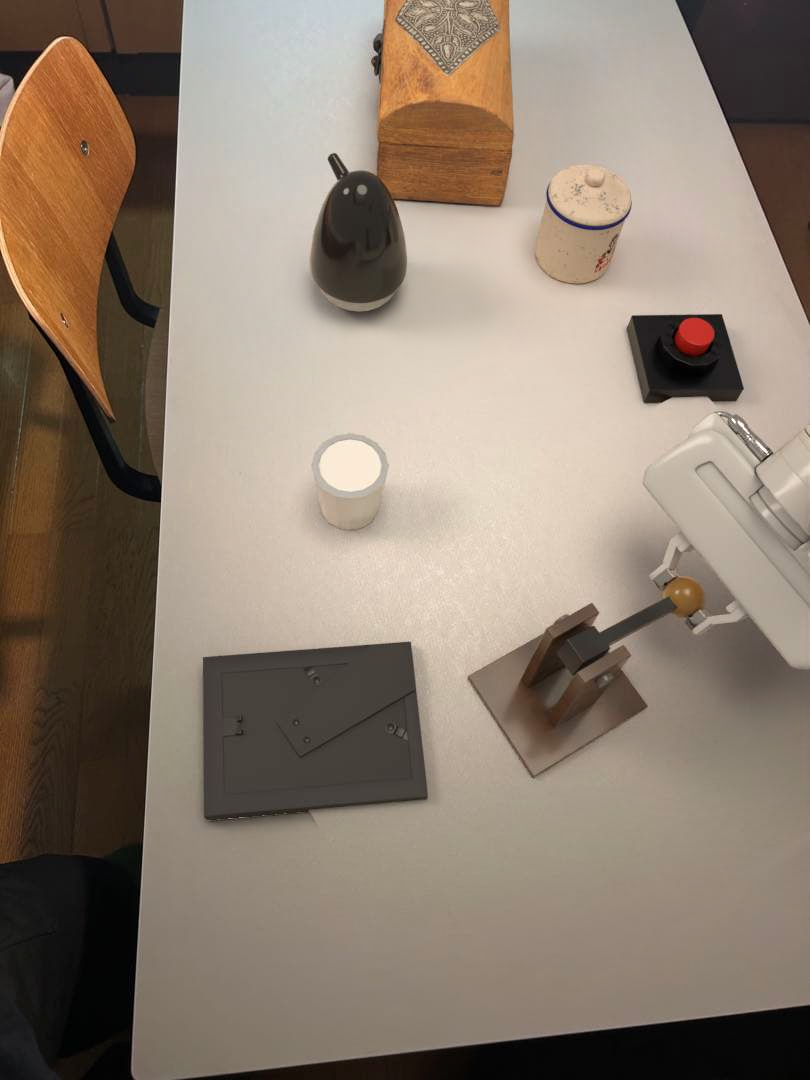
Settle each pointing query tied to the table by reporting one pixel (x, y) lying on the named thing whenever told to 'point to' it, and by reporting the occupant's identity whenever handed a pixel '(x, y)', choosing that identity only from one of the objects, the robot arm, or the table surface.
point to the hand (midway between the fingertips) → (673, 606)
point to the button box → (682, 360)
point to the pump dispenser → (358, 241)
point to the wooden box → (445, 100)
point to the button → (694, 336)
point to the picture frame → (310, 730)
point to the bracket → (556, 695)
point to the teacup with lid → (581, 223)
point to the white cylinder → (349, 479)
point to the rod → (632, 624)
